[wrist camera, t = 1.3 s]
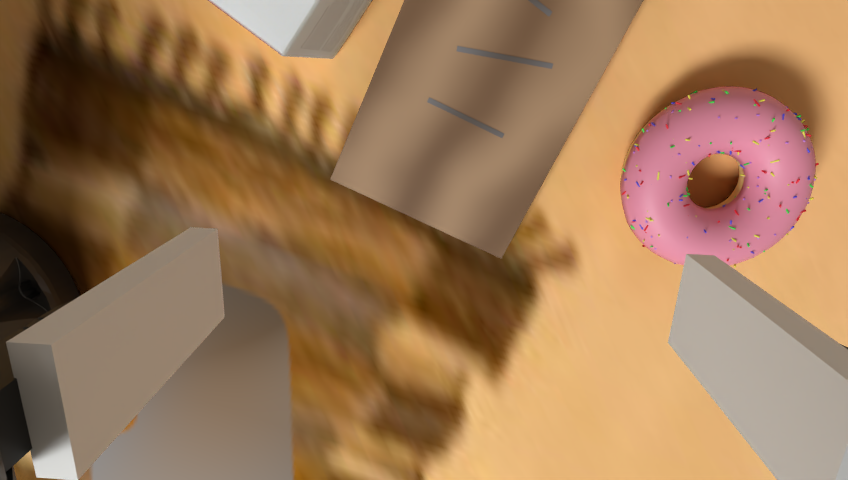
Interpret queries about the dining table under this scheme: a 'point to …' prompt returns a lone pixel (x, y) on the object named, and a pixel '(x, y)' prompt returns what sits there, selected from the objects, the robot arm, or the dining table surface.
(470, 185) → the board
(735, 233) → the doughnut
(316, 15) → the small box
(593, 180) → the dining table surface
